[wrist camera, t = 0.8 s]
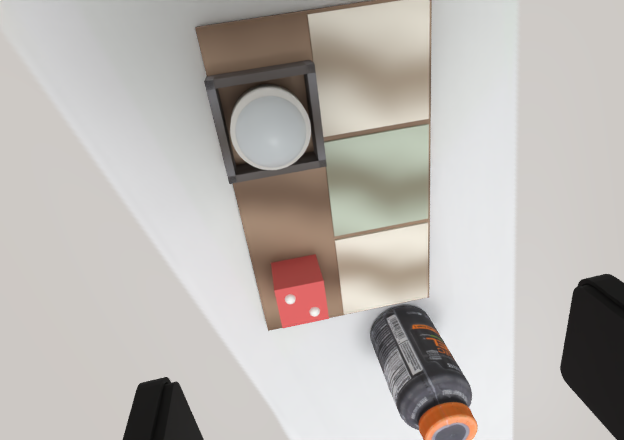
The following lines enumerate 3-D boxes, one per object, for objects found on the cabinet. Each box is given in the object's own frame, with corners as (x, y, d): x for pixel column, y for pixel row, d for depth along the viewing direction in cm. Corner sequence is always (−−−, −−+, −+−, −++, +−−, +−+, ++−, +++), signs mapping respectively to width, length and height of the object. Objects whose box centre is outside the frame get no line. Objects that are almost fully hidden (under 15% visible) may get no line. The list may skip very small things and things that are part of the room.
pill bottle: (440, 323, 40) (507, 429, 30) (395, 360, 41) (444, 472, 31) (403, 292, 37) (462, 396, 28) (356, 333, 39) (396, 446, 29)
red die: (270, 262, 33) (274, 294, 29) (315, 254, 33) (324, 284, 29) (278, 298, 34) (283, 331, 31) (320, 289, 35) (330, 321, 31)
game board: (196, 26, 25) (191, 29, 23) (425, -8, 26) (445, -9, 24) (267, 322, 37) (269, 347, 34) (424, 290, 38) (438, 311, 35)
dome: (223, 90, 25) (220, 106, 21) (300, 78, 26) (310, 91, 22) (239, 164, 27) (239, 189, 24) (310, 151, 28) (321, 175, 24)
